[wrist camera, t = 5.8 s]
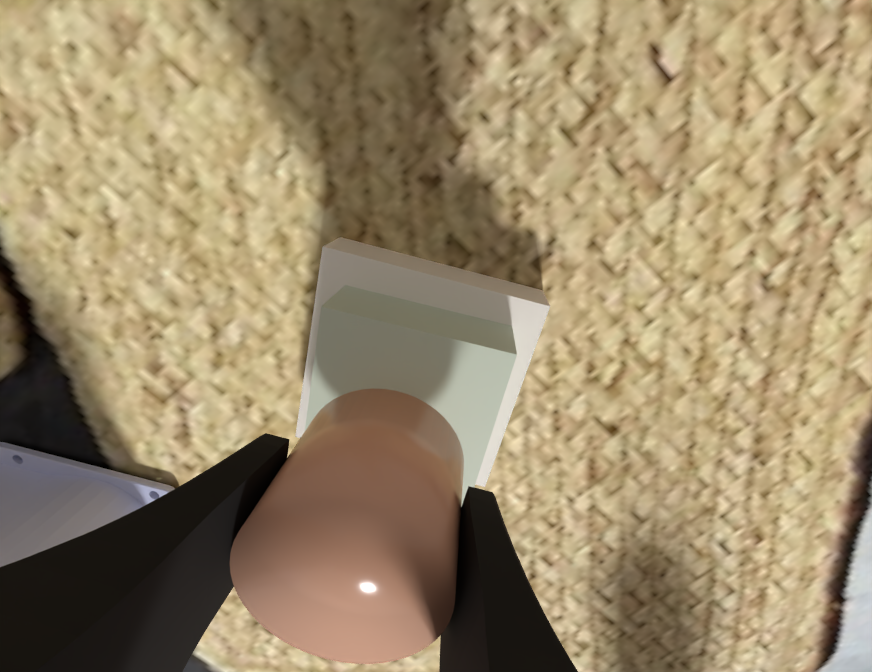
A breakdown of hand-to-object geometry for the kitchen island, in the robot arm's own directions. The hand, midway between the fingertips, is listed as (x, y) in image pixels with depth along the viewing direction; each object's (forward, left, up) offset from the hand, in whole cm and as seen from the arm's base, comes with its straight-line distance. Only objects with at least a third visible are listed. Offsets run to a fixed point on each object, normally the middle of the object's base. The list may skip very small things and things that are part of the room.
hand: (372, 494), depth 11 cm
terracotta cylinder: (0, 0, -1) cm, 1 cm away
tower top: (0, 0, -6) cm, 6 cm away
